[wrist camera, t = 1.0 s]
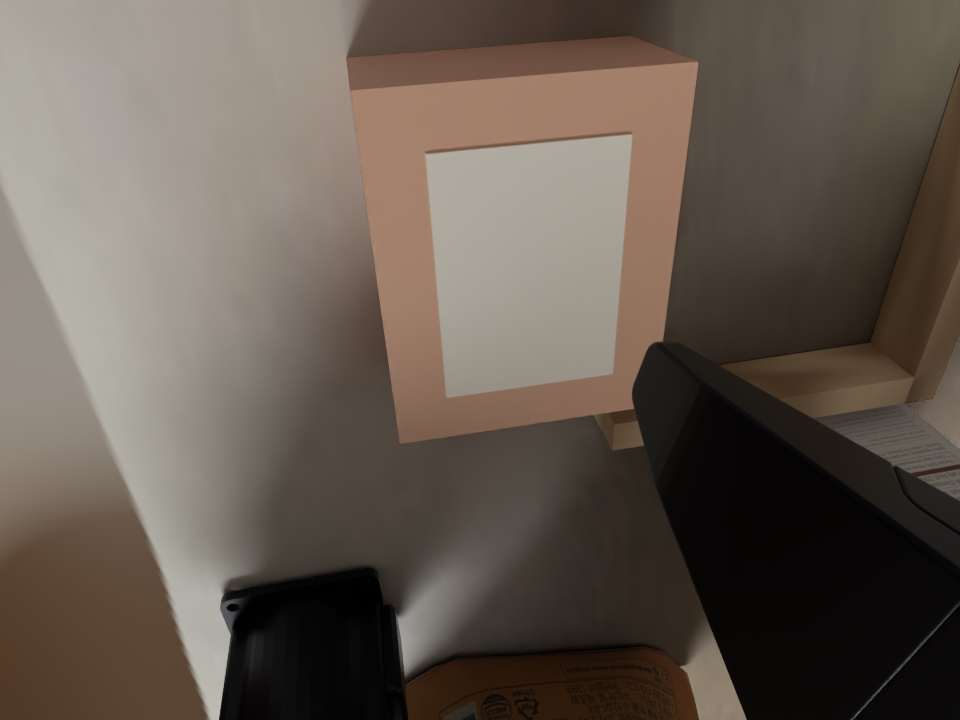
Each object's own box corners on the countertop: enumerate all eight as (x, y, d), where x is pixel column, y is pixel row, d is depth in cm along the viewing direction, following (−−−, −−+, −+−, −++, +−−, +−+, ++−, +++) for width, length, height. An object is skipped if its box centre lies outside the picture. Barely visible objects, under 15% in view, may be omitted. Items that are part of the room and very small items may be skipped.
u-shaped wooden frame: (590, 409, 26) (612, 450, 24) (618, -102, 17) (658, -104, 15) (888, 363, 28) (932, 398, 26) (1059, -125, 19) (1148, -131, 17)
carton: (388, 362, 24) (399, 445, 20) (345, 56, 18) (350, 91, 14) (606, 333, 25) (655, 406, 21) (627, 34, 19) (700, 62, 16)
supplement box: (849, 504, 33) (1090, 779, 22) (704, 533, 32) (885, 832, 21) (889, 381, 28) (1209, 646, 18) (724, 410, 28) (960, 707, 17)
